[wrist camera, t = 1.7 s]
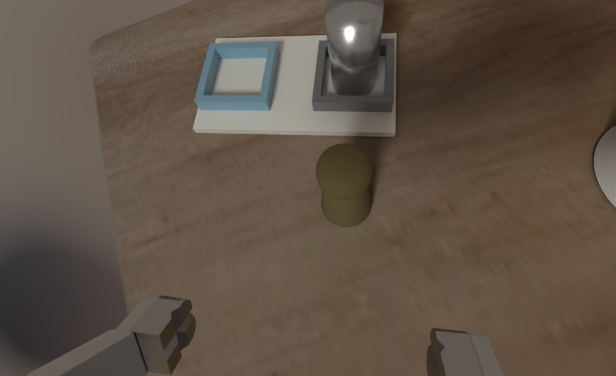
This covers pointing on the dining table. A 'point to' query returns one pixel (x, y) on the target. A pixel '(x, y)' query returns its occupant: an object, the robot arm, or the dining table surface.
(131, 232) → the dining table surface
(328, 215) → the cork
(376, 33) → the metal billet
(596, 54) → the dining table surface
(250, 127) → the pallet board
